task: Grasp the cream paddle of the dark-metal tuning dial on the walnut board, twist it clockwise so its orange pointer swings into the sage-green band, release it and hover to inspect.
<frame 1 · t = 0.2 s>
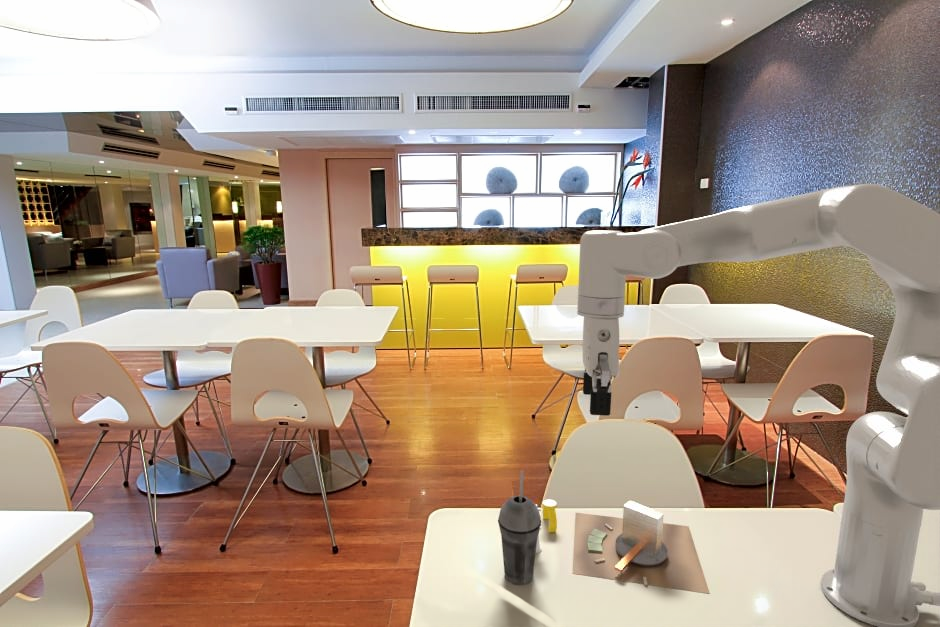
hand: (595, 403, 88), 30 cm above the table, fingers open, 9 cm apart
dial: (636, 535, 91), point 6 cm above the table, hinge at 60.0°
board: (640, 558, 94), on the table
chess piece: (535, 554, 95), on the table
beverage cup: (518, 582, 88), on the table
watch: (549, 531, 103), on the table
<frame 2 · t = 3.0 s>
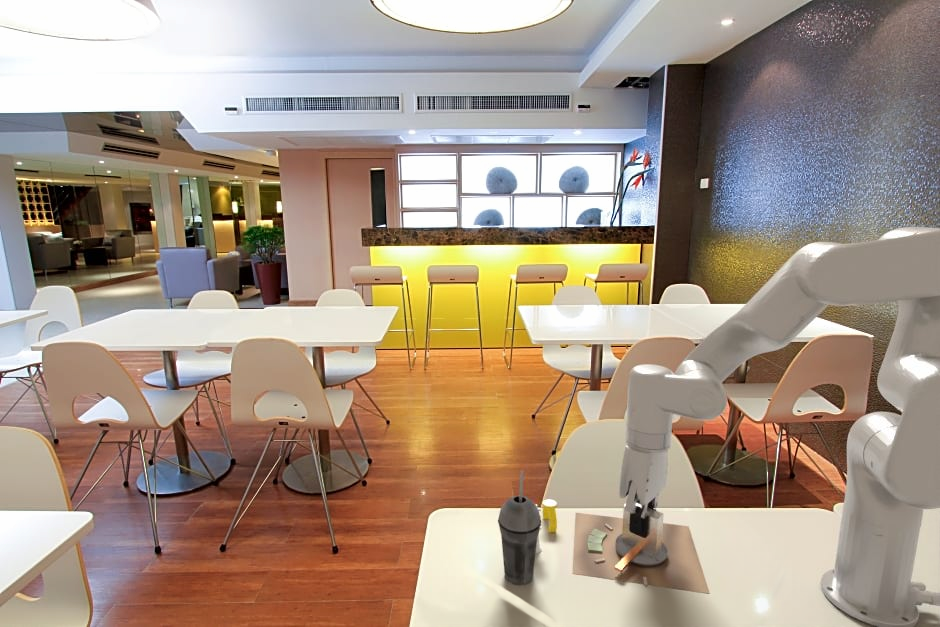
hand: (642, 529, 93), 6 cm above the table, fingers closed on dial, 2 cm apart
dial: (636, 535, 91), point 6 cm above the table, hinge at 60.0°, touching gripper
everything else where it was.
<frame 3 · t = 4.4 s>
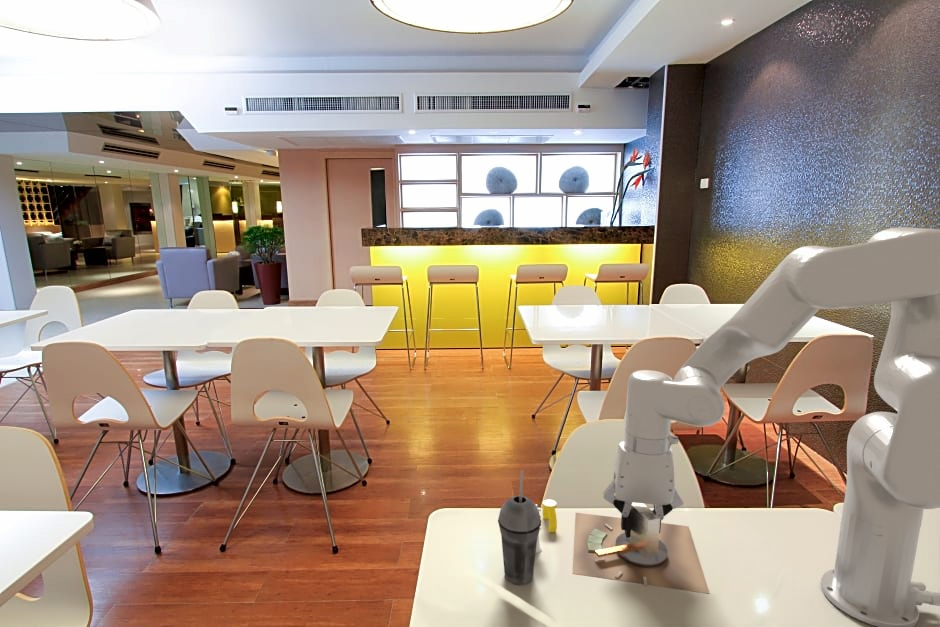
hand: (639, 533, 94), 5 cm above the table, fingers closed on dial, 3 cm apart
dial: (631, 532, 92), point 6 cm above the table, hinge at 28.4°, touching gripper
everything else where it was.
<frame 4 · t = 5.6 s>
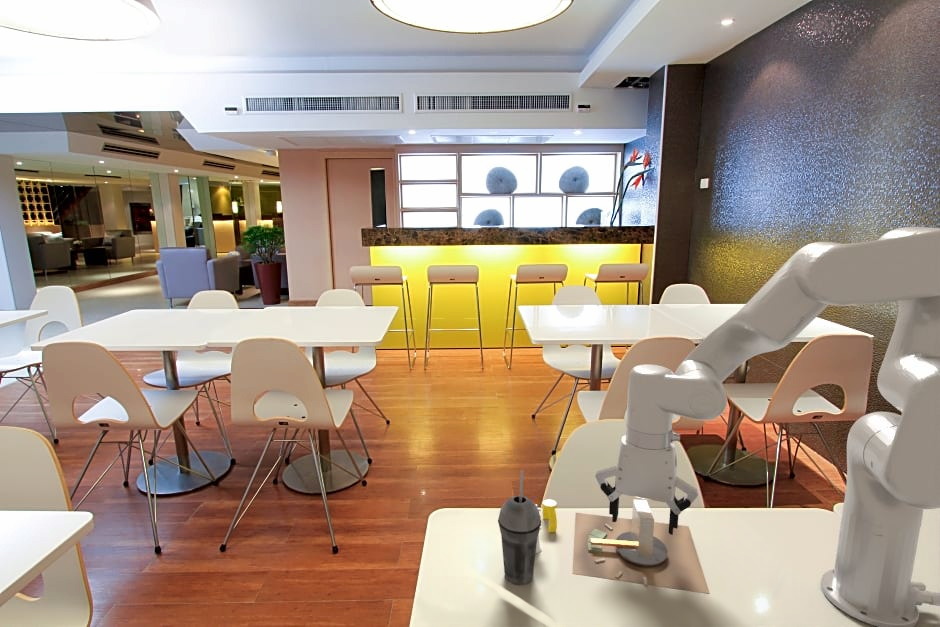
hand: (642, 524, 93), 7 cm above the table, fingers open, 9 cm apart
dial: (629, 529, 93), point 6 cm above the table, hinge at 5.5°
everything else where it was.
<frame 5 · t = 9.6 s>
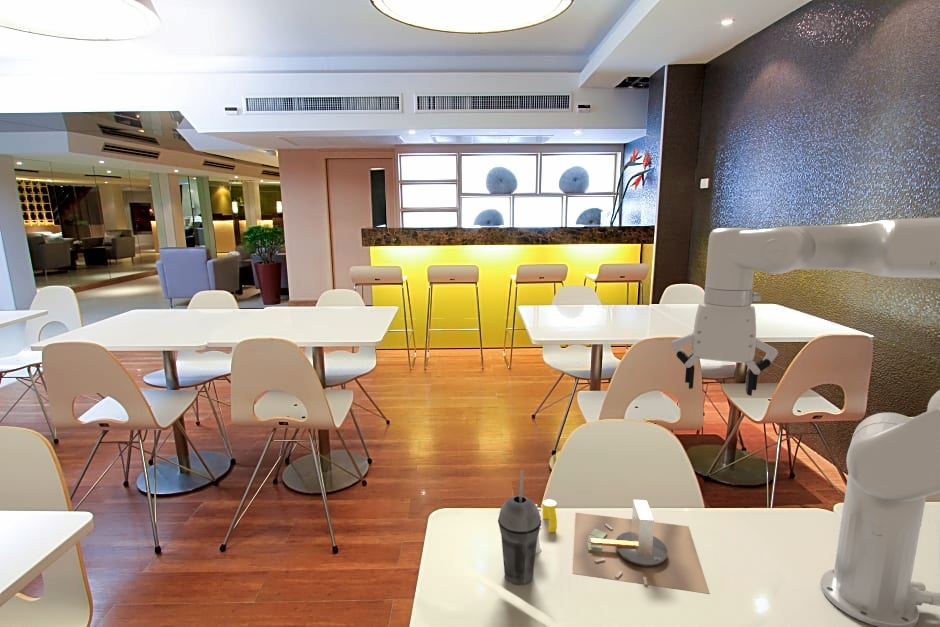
hand: (719, 389, 94), 30 cm above the table, fingers open, 9 cm apart
nothing on the table moved.
at the end: dial at +5° (first picture: +60°); the gripper is holding nothing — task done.
